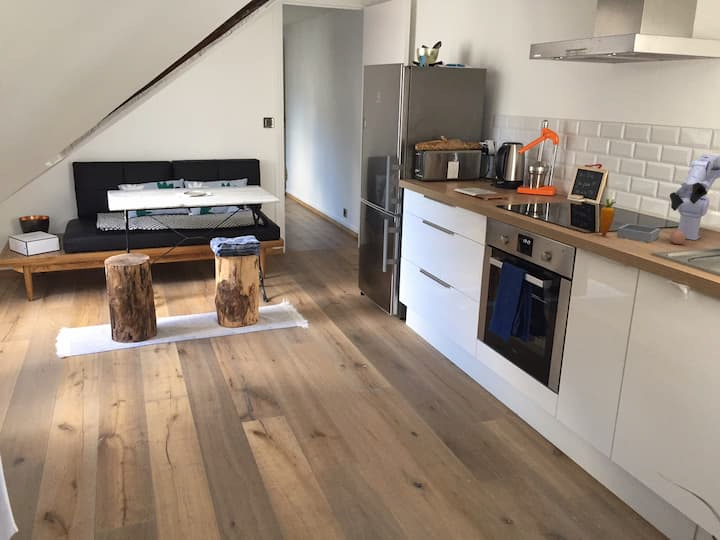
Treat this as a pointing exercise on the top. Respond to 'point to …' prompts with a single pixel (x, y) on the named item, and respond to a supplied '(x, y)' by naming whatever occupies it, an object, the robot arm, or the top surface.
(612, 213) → the carrot
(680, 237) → the ball
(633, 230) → the grey tray
